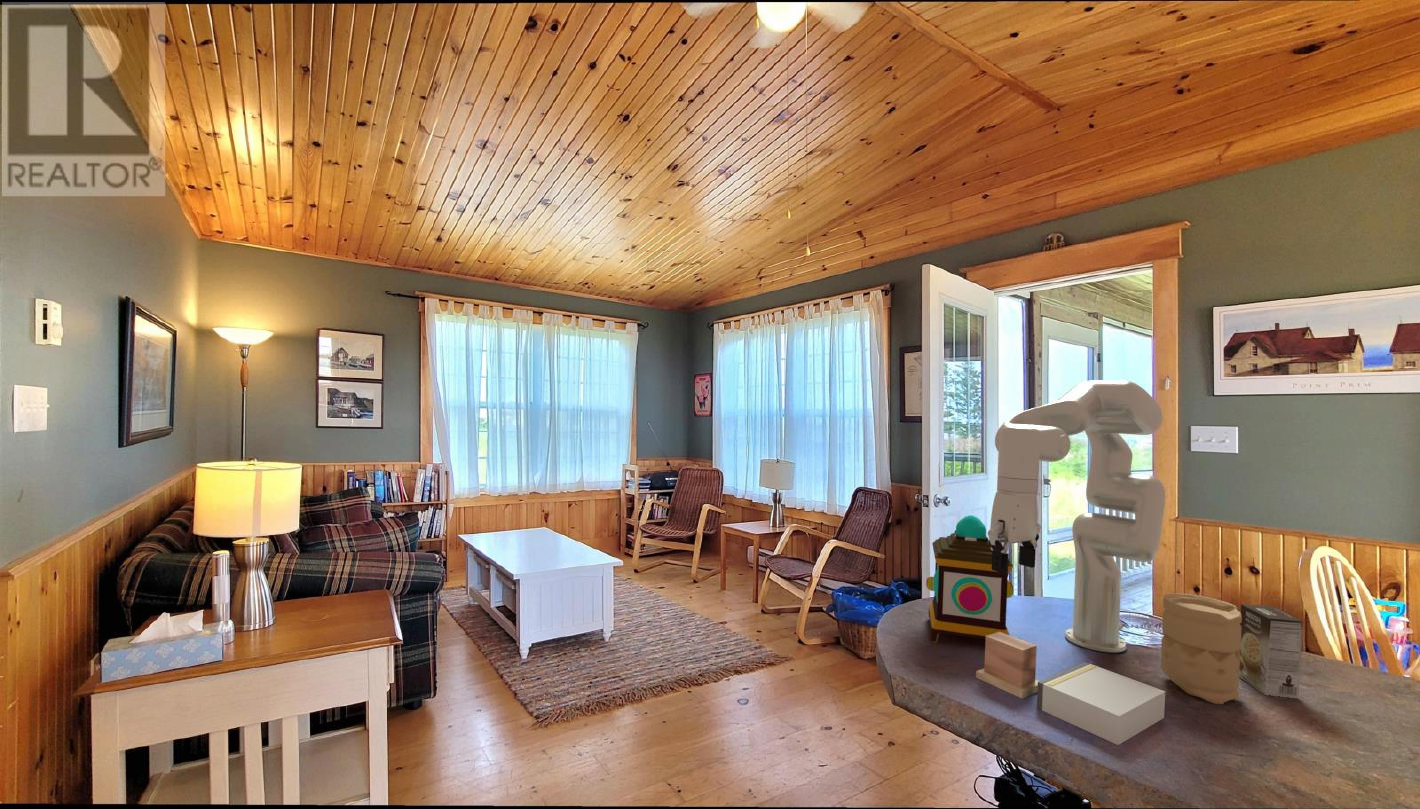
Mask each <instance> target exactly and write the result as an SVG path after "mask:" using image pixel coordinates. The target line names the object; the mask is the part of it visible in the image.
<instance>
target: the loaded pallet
mask: <svg viewBox="0 0 1420 809" xmlns="http://www.w3.org/2000/svg"><path fill="white" fill-rule="evenodd" d="M984 642H985V646H984V647H985V648H984V667H983V668H981V669H978V670H976V672H975V678H976V679H979V680H980V681H983V682H985V683H988V684H990V685H991V686H994V687H996V688H998V689H1001V690H1003V691H1005V692H1007V693H1009V694H1010V695H1014V696H1016V697H1018V698H1021V699H1024V698H1027V697H1029V696H1032V695H1034V694H1036V693H1037V687H1038V682H1039V681H1040V680H1038V679H1036V675H1037V674H1036V673H1037V672H1036V671H1037V670H1036V669H1037V667H1036V666H1037V649H1038V648H1037V646H1038V645H1036V644H1034V643H1030V642H1028V641H1025V640H1023V639H1020V638H1018V637H1015V636H1012V635H1010V634H1009V635H1007V634H1004V633H1002V632H997V633H994V634H991V635H988V636H986V639H985V641H984Z"/></svg>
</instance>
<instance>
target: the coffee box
mask: <svg viewBox="0 0 1420 809" xmlns="http://www.w3.org/2000/svg"><path fill="white" fill-rule="evenodd" d="M1240 612H1241V616H1242V622H1241V623H1240V625H1241V647H1240V668H1239V679H1242V680H1243V681H1245V682H1246V683H1247V684H1249V685H1250V686H1252V687H1253V688H1254V689H1256V690H1257V691H1259V692H1260V693H1261V694H1263V695H1265V696H1269V695H1271V696H1270V697H1278V696H1280V698H1287V697H1289V699H1296V698H1299V697H1300V696H1299V695H1300V683H1301V682H1300V679H1301V667H1302V666H1301V661H1302V647H1303V644H1302V643H1303V632H1304V631H1303V630H1304V621H1303V620H1301V619H1299V618H1297V617H1295V616H1293V615H1291V614H1289V613H1287V612H1285V611H1284V610H1282V609H1280V608H1278V607H1276V606H1273V605H1272V606H1271V605H1259V604H1246V603H1245V604H1244V603H1241V604H1240Z"/></svg>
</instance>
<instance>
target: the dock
mask: <svg viewBox="0 0 1420 809" xmlns="http://www.w3.org/2000/svg"><path fill="white" fill-rule="evenodd" d="M1038 681H1039V682H1038V687H1037V692H1036V693H1037V694H1036V708H1037V709H1038V710H1041V711H1042V712H1044V713H1047V714H1049V715H1051V716H1053V717H1056V718H1057V719H1060V720H1062V721H1064V722H1066V723H1069V724H1071V725H1073V726H1075V727H1078V728H1080V729H1082V730H1084V731H1086V732H1088V733H1091V734H1093V735H1095V736H1097V737H1099V738H1101V739H1104V740H1106V741H1108V742H1110V743H1111V744H1114V745H1117V746H1119V745H1121V744H1122V743H1124V742H1126V741H1128V740H1130V739H1132V738H1133V737H1135V736H1136V735H1138V734H1140V733H1141V732H1143V731H1145V730H1147V729H1149V728H1150V727H1152V726H1153V725H1155V724H1156V723H1159V721H1162V720H1163V719H1165V704H1166V702H1165V701H1166V691H1165V690H1162V689H1160V688H1157V687H1154V686H1151V685H1149V684H1146V683H1143V682H1141V681H1137V680H1135V679H1133V678H1129V677H1127V676H1125V675H1121V674H1120V673H1118V672H1117V673H1116V672H1113V671H1111V670H1108V669H1105V668H1102V667H1100V666H1099V665H1098V666H1097V665H1095V664H1091V663H1088V662H1086V661H1085V662H1082V663H1080V664H1078V665H1075V666H1073V667H1071V668H1068V669H1065V670H1063V671H1061V672H1058V673H1056V674H1054V675H1051V676H1048V677H1046V678H1044V679H1042V680H1038Z"/></svg>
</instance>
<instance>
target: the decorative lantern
mask: <svg viewBox="0 0 1420 809" xmlns="http://www.w3.org/2000/svg"><path fill="white" fill-rule="evenodd" d="M989 541H990V540H989V537H988V536H987V528H986V525H985V524H984V523H983V522H982V521H981V519H980V518H978V517H977V516H974V515H971V514H970V515H966V516H964V517H962V518H961V519H960V520H959V521H958V522H957V523H956V526H955V530H954V532H953V533H951V534H950V535H947V536H945V537H944V536H940V537H939V538H938V539H935V540H934V541H933V542H932V543H931V544H932V549H933V554H934V555H933V556H934V559H935V567H934V569H935V570H934V571H935V572H934V574H933V576H928V577H926V582H925V583H926V584H925V586H926V588H927V589H928V590H929V591H931V592H934V594H933V599H932V601H931V603H930V604H929V606H928V618H929V621H930V622H929V623H930V639H931V642H932V643H933V644H936V643H937V642H938V638H939V634H946V635H952V636H953V635H955V636H959V637H966V638H973V639H979V640H980V639H981V640H982V639H983V640H986V636H988V635H991V634H994V633H997V632H1002V633H1004V634H1007V635H1010V633H1009V630H1008V627H1007V623H1006V622H1007V607H1008V606H1007V604H1008V599H1009V598H1012V597H1013V596H1014V585H1013V583H1012V581H1011V580H1009V579H1008V578H1009V574H1010V573H1011V572H1012V570H1013V568H1014V567H1013V566H1014V565H1013V563H1012V561H1011V560H1010V559H1009V560H1008V573H1006V574H1004V573H1001V572H997V571H994V570H992V551H991V546H990V544H989Z"/></svg>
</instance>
